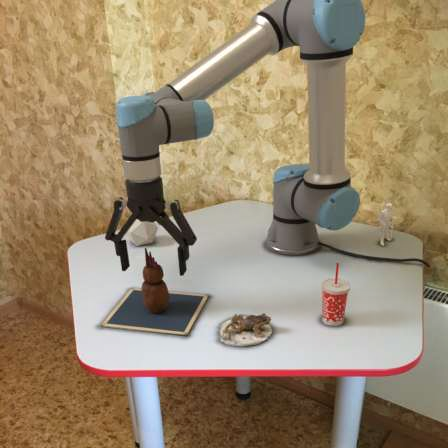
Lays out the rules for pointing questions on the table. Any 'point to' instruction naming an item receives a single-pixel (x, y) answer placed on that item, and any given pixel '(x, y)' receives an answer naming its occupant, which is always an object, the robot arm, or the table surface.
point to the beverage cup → (334, 299)
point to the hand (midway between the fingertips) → (154, 270)
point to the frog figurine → (245, 330)
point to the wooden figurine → (154, 286)
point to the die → (142, 232)
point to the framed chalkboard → (157, 322)
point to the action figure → (385, 223)
